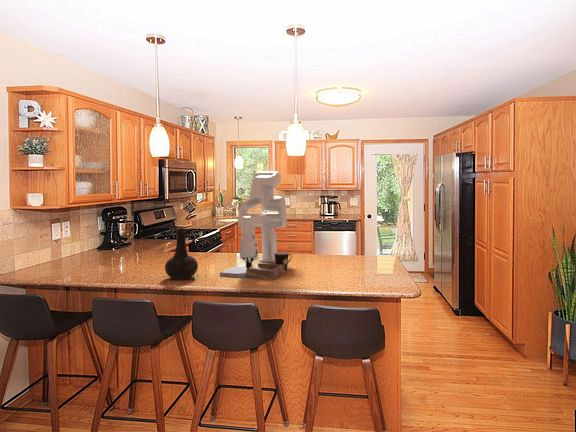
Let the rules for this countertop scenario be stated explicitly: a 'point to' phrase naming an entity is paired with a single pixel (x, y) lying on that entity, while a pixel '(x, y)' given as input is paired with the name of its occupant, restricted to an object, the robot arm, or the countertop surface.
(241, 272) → the slate plate
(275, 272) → the box
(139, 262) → the countertop surface
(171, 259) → the dark bulbous vase
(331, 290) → the countertop surface
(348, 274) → the countertop surface
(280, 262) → the coffee mug
